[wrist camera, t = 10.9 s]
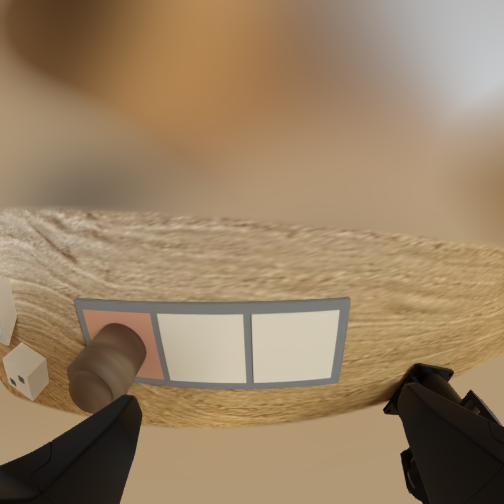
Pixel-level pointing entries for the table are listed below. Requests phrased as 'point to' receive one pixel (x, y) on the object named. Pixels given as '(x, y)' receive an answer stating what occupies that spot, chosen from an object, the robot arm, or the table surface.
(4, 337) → the figurine
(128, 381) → the pawn
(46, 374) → the cream box with slots
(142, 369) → the game board
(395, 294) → the table surface
